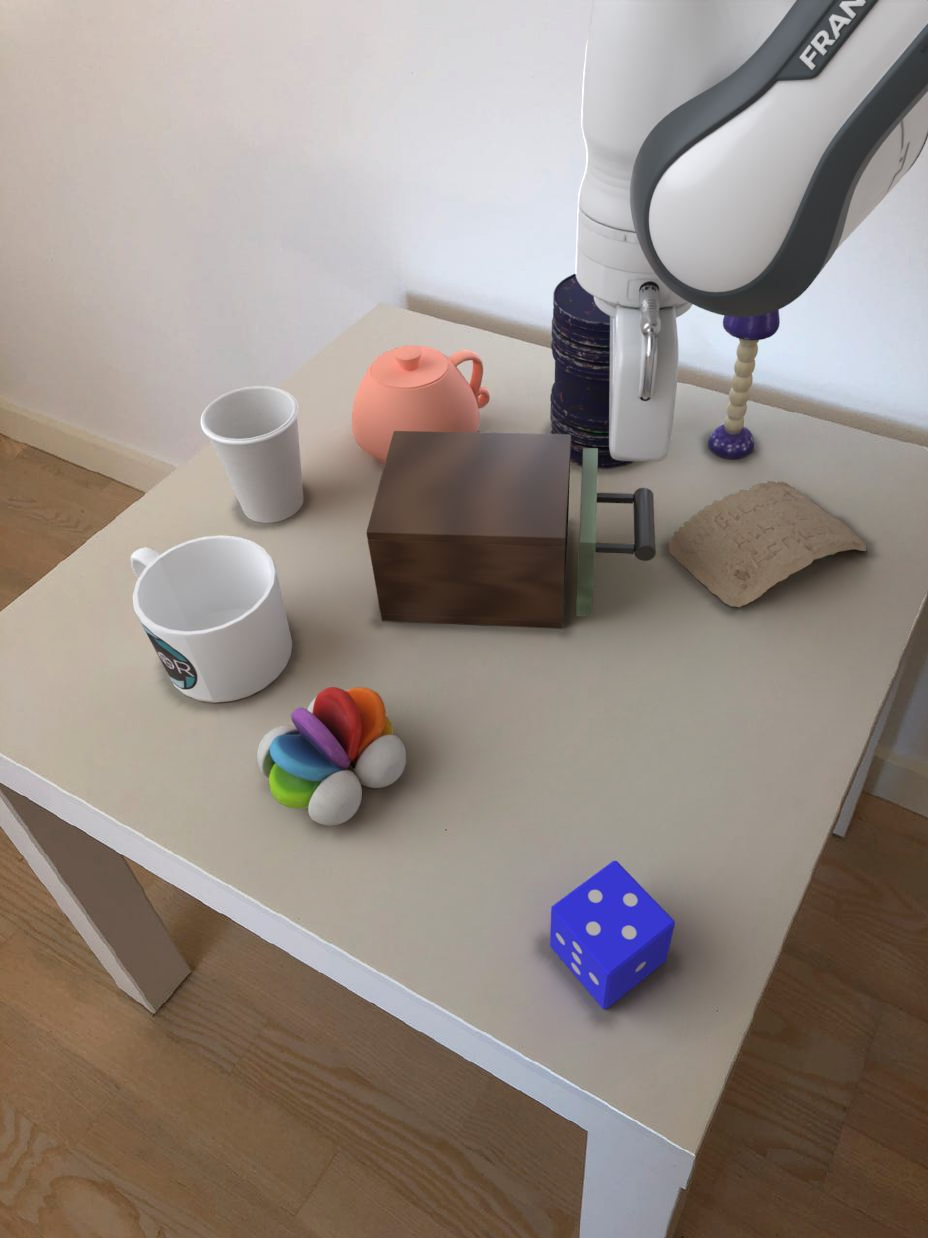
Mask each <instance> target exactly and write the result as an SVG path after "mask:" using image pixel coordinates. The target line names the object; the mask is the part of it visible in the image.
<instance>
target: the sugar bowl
mask: <svg viewBox="0 0 928 1238" xmlns="http://www.w3.org/2000/svg"><path fill="white" fill-rule="evenodd" d="M467 361H472V370H471V371H472V372H471V377H470V381H469V382H468V381H467V379H466V377H465V376H464V374H463V373H462V371H460V370H459V368H458V366H459V365H461V364H463V363H465V362H467ZM483 377H484V363H483V360H482V358H481V356H480V355H479V354H477V352H474V351H473V350H469V349H463V350H458V351H456V352H454V353H452V354H451V355H449V356H448V357H447V356H446V355H445V353H443V352H442V351H440V350H438V349H436V348H433V347H430V346H425V345H413V344H407V345H402V346H399V347H396V348H392V349H389V350H387V351H385V352H383V353H382V354H380V355H378V356H377V357H376V358H375V359H374V360H373V361H372V363H371V364H370V365H369V367H368V369H367V370H366V372H365V374H364V375H363V377H362V379H361V381H360V383H359V385H358V388H357V389H356V393H355V395H354V400H353V403H352V410H351V430H352V435H353V438H354V439H355V440H354V441H356V443H357V444H358V446H359V447H360V448H361V450H362V451H364V452H365V453H366V454H367V455H368V456H370V457H372V458H373V459H375V460H376V461H378V462H380V463H382V464H384V465H385V461H386V458H387V454H388V450H389V447H390V443H391V439H392V436H393V432H394V431H422V432H475V433H478V431H479V428H480V424H481V423H480V421H481V417H480V409H483V408H485V407H486V406H487V405H488V404H489V402H490V399H491V395H490V391H489V390H488V389H487V388H486V387H485V386H481V385H482V382H483Z"/></svg>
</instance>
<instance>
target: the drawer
mask: <svg viewBox="0 0 928 1238" xmlns="http://www.w3.org/2000/svg"><path fill="white" fill-rule="evenodd" d="M598 470H599V469H598V448H583V461H582V466H581V485H580V486H581V488H580V507H579V508H580V510H579V511H580V512H579V533H578V535H579V536H578V555H577V557H578V560H577V581H576V582H577V583H576V586H577V587H576V604H575V605H576V608H575V616H576V617H592V614H593V612H592V611H593V599H594V598H593V597H594V582H595V581H594V579H595V565H596V564H595V563H596V554H612V555H613V554H615V555H616V554H617V555H618V554H619V555H634V557H635V558H636V559H637V560H638V561H641V562H648V561H651V560H653V559H654V558H655V556H656V554H657V552H656V551H657V549H656V526H655V500H654V492H653V490H651V489H650V488H648V487H639V488H638V489H636V490H635V491H634V492H633V493H621V492H618V493H617V492H598ZM598 504H625V505H626V504H627V505H628V504H632V505H633V543H623V542H622V543H618V542H597V515H598V514H597V513H598V511H597V510H598V509H597V507H598Z"/></svg>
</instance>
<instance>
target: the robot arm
mask: <svg viewBox="0 0 928 1238" xmlns="http://www.w3.org/2000/svg"><path fill="white" fill-rule="evenodd" d="M590 10H591V11H590V16H589V22H588V29H587V36H586V45H585V53H584V65H583V74H582V75H583V78H582V91H581V93H582V94H581V113H580V114H581V115H580V124H581V125H580V126H581V132H582V133H581V134H582V136H583V140H584V145H585V151H586V161H585V169H584V173H583V177H582V180H581V183H580V186H579V189H578V196H577V217H576V220H577V221H576V247H575V248H576V249H575V269H574V270H575V273H574V274H576V278H577V281H578V282H579V284H580V285H581V287H582V288H583V289H585V290H586V291H587V292H588V293H590V294H591V295H593V296H594V301H595V303H596V305H597V306H598V308H599V309H600V310H601V311H603V312H604V313H606V314H607V315H609V316H610V389H609V449H610V454H611V457H612V458H613V459H615V460H619V461H636V462H638V463H639V462H643V463H645V462H647V463H650V462H651V463H653V462H656V463H657V462H663V460H665V459H666V458H667V456H668V454H669V451H670V448H671V443H672V442H671V441H672V434H673V427H674V426H673V424H674V416H675V408H676V407H675V406H676V397H677V388H678V377H679V375H678V374H679V361H680V360H679V357H680V356H679V354H680V353H679V338H678V326H677V325H678V324H677V318H678V317H681V316H682V315H684V314H685V313H686V312H688V311H689V310H690V309H691V308H692V306H695V307H698V308H699V309H702V310H705V311H706V312H710V313H713V314H715V315H720V316H723V317H724V316H730V317H755V316H760V315H765V314H768V313H771V312H774V311H777V310H779V311H780V310H781V309H783V308H786V306H788V305H790V304H791V303H793V302H795V300H797V299H798V298H800V297H801V296H802V295H803V294H804V293H805V292H806V291H807V290H808V288H810V286H811V285H812V284H813V283H814V281H815V280H816V279H817V277H818V276H819V274H821V272H822V271H823V269H824V268H825V267H826V265H827V264H828V263H829V261H830V260H831V259H832V258H833V255H834V254H835V252H836V251H837V250H838V249H839V248H840V246H842V244H843V243H844V242H845V241H846V240H847V239H848V238H849V237H850V236H851V235H852V234H853V232H854V231H855V230H856V229H857V228H859V226H860V225H861V224H862V223H863V222H864V221H865V220H866V219H867V217H869V215H870V214H871V213H872V212H873V211H874V210H875V209H876V207H877V206H878V205H879V204H880V203H881V202H882V201H883V200H884V199H885V198H886V197H887V195H888V194H890V192H891V191H892V190H893V189H894V188H895V187H896V186H897V184H898V183H899V182H900V181H901V180H902V178H903V177H904V176H906V174H907V173H908V172H909V171H910V169H911V168H912V167H913V166H914V164H915V163H916V161H918V158H920V155H921V154H922V151H923V149H924V148H925V145H926V142H927V140H928V0H593V1H592V4H591V9H590Z"/></svg>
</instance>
